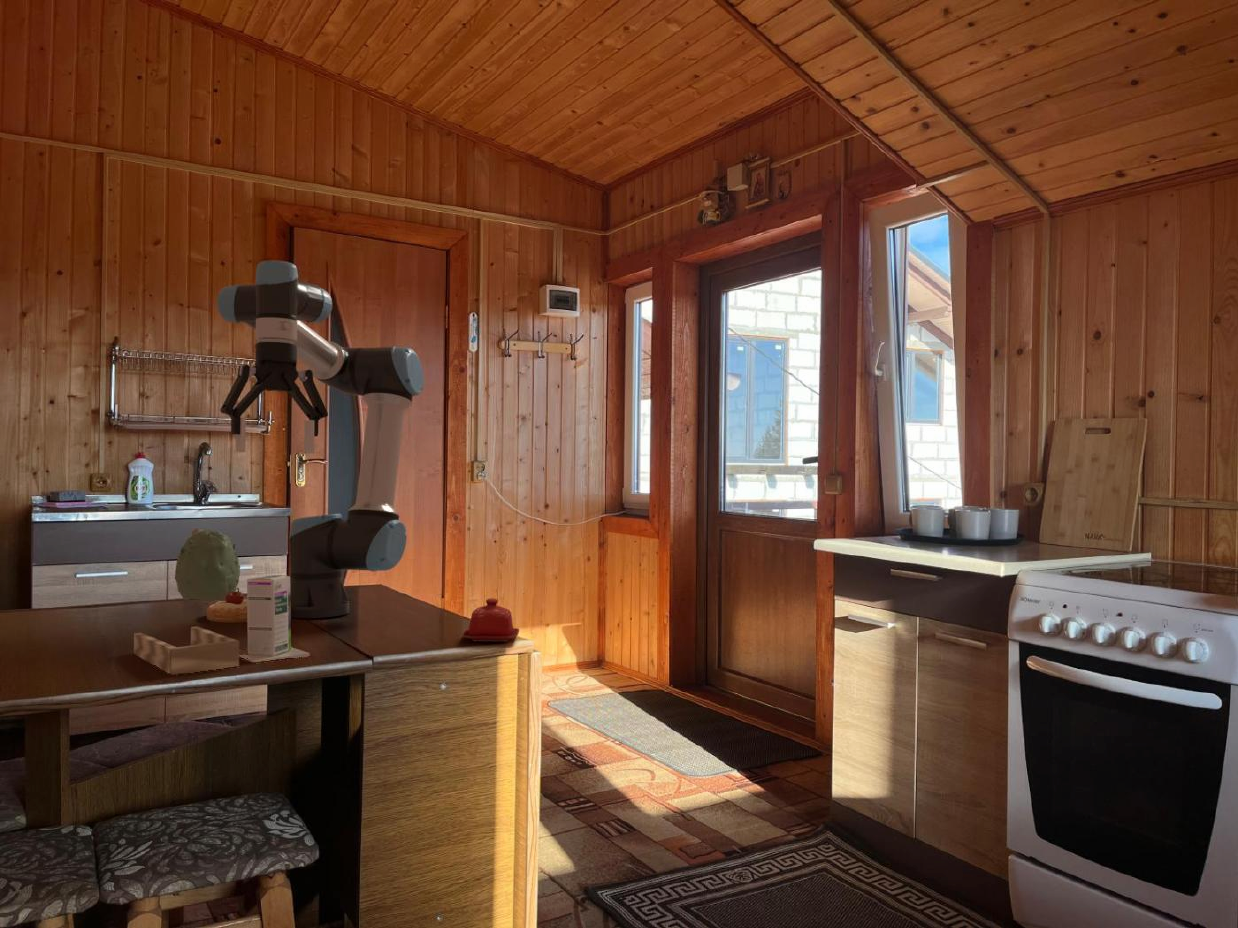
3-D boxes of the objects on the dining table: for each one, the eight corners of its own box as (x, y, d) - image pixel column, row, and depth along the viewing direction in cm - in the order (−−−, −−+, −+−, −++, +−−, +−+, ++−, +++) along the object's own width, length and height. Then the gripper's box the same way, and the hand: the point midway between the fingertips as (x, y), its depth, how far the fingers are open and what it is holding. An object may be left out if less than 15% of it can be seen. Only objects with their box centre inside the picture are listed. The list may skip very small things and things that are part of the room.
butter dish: (520, 633, 206) (520, 594, 206) (516, 643, 195) (517, 602, 195) (467, 633, 206) (467, 594, 206) (461, 643, 194) (461, 602, 194)
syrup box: (274, 656, 175) (274, 578, 175) (245, 654, 176) (246, 577, 176) (291, 650, 180) (291, 575, 180) (264, 649, 182) (264, 574, 182)
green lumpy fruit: (184, 615, 226) (184, 532, 226) (165, 605, 241) (165, 527, 241) (251, 609, 236) (251, 529, 236) (228, 600, 251) (229, 525, 251)
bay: (133, 660, 175) (134, 633, 175) (197, 652, 183) (197, 626, 183) (172, 678, 160) (172, 649, 160) (239, 668, 168) (239, 640, 168)
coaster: (228, 656, 179) (228, 652, 179) (284, 648, 186) (284, 644, 186) (252, 665, 171) (252, 661, 171) (309, 657, 178) (309, 653, 178)
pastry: (249, 620, 220) (249, 582, 220) (272, 626, 212) (273, 587, 212) (197, 626, 212) (197, 586, 212) (219, 633, 204) (219, 592, 204)
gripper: (218, 334, 170) (217, 451, 170) (345, 347, 187) (344, 453, 187) (202, 338, 175) (201, 452, 175) (327, 350, 193) (327, 453, 193)
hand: (275, 453), depth 181 cm, fingers open, 13 cm apart
